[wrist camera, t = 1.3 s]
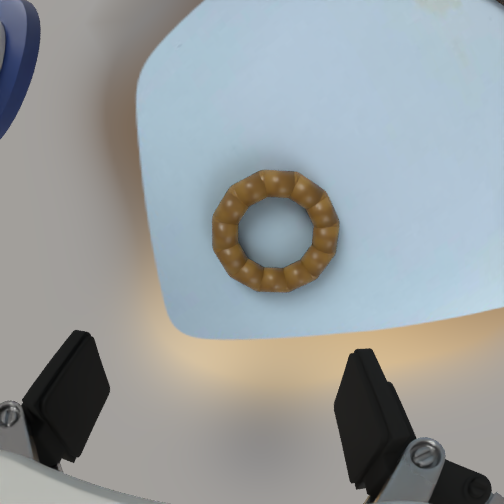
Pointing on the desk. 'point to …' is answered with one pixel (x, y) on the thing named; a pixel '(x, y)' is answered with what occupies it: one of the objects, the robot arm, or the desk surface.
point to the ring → (281, 187)
